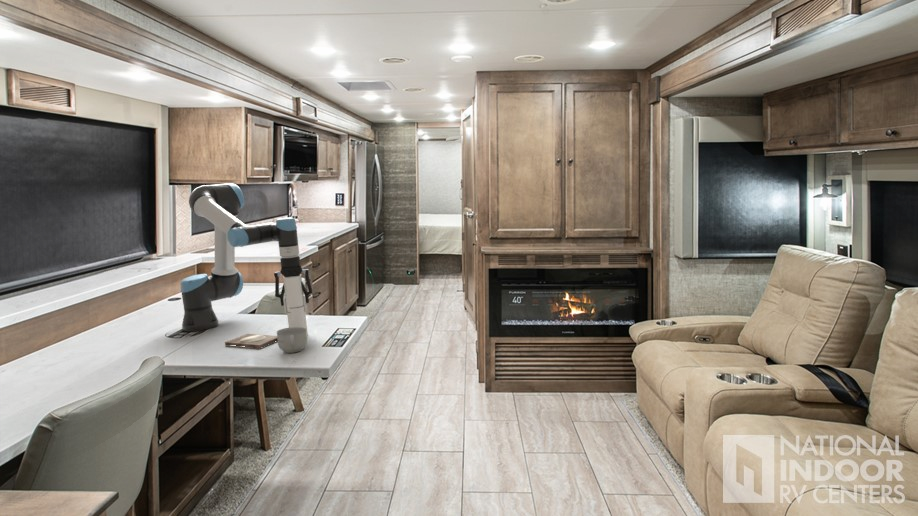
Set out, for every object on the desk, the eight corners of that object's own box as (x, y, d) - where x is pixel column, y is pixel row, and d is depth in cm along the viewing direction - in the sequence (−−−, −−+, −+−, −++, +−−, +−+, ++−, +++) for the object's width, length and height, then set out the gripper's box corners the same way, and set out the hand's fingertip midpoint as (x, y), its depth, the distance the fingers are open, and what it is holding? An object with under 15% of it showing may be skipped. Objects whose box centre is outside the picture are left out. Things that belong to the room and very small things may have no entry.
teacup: (282, 347, 233) (279, 327, 231) (310, 344, 233) (308, 324, 232) (274, 358, 219) (271, 337, 218) (304, 356, 220) (302, 334, 219)
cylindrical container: (303, 338, 243) (296, 277, 239) (286, 338, 245) (279, 278, 241) (310, 333, 250) (304, 274, 246) (294, 333, 252) (288, 274, 248)
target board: (225, 345, 240) (224, 341, 240) (247, 337, 251) (247, 333, 251) (259, 348, 233) (259, 344, 233) (281, 339, 243) (280, 335, 243)
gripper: (262, 260, 237) (269, 317, 241) (314, 255, 240) (320, 311, 244) (265, 257, 244) (271, 312, 248) (315, 252, 248) (321, 307, 251)
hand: (296, 312), depth 246 cm, fingers closed on cylindrical container, 7 cm apart
